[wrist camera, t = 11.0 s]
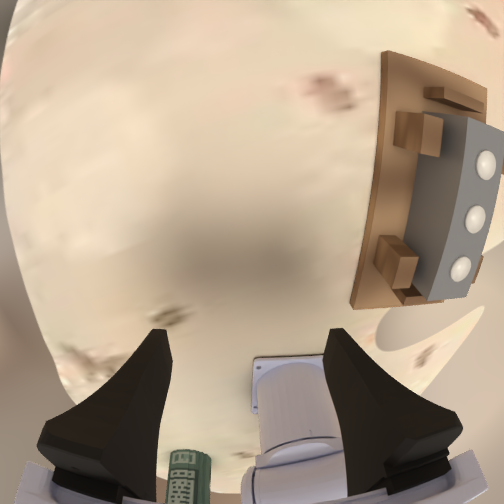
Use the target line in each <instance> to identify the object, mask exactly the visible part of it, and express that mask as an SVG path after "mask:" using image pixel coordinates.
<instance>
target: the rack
mask: <svg viewBox="0 0 504 504" xmlns="http://www.w3.org/2000/svg"><path fill="white" fill-rule="evenodd" d="M486 110H487V88H485V87H483V86H481V85H479V84H477V83H475V82H472V81H470V80H468V79H466V78H464V77H461V76H459V75H457V74H455V73H452V72H450V71H447V70H445V69H442V68H440V67H437V66H435V65H432V64H429V63H426V62H424V61H421V60H418V59H415V58H412V57H409V56H406V55H402V54H399V53H396V52H392V51H389V50H387V51H384V52H382V63H381V97H380V114H379V128H378V139H377V150H376V159H375V168H374V176H373V183H372V191H371V197H370V204H369V210H368V217H367V222H366V228H365V234H364V239H363V244H362V250H361V255H360V259H359V264H358V269H357V274H356V278H355V282H354V287H353V291H352V295H351V299H350V304H351V306H352V308H353V310H358V309H374V308H387V307H400V306H411V305H421V304H432V303H442V302H444V300H445V299H444V300H434V301H427V300H426V299H425V298H424V297H423V296H422V294H421V293H420V292H419V291H418V289H417V288H416V287H415V286H414V285H413V284H412V279H413V276H414V272H415V269H416V265H417V262H418V258H419V257H418V256H417V255H416V254H415V253H414V252H413V251H412V250H411V249H410V248H409V247H408V246H407V245H406V244H405V243H404V242H403V238H404V233H405V229H406V224H407V219H408V214H409V209H410V204H411V199H412V193H413V187H414V181H415V174H416V168H417V160H418V153H420V154H425V155H430V156H435V157H439V156H440V149H441V140H442V130H443V119H441V118H438V117H434V116H431V115H427V114H423V113H422V111H425V112H435V113H444V114H452V115H459V116H466V117H470V118H472V119H475V120H477V121H480V122H482V123H485V124H486ZM501 174H504V159H503V166H502V172H501ZM482 260H483V256H482V255H481V258H480V261H479V263H478V266H477V269H476V272H475V275H474V278H473V280H472V283H475V280H476V277H477V275H478V272H479V269H480V266H481V263H482ZM472 283H471V284H472Z"/></svg>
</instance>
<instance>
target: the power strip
mask: <svg viewBox="0 0 504 504" xmlns="http://www.w3.org/2000/svg"><path fill="white" fill-rule="evenodd" d="M422 113H423V114H427V115H431V116H434V117H438V118H441V119H443V130H442V140H441V149H440V156H439V157H435V156H430V155H425V154H420V153H418V160H417V168H416V174H415V181H414V187H413V193H412V199H411V204H410V209H409V214H408V219H407V224H406V229H405V233H404V238H403V242H404V243H405V244H406V245H407V246H408V247H409V248H410V249H411V250H412V251H413V252H414V253H415V254H416V255H417V256H418V257H419V258H418V262H417V265H416V269H415V272H414V276H413V279H412V284H413V285H414V286H415V287H416V288H417V289H418V291H419V292H420V293H421V294H422V296H423V297H424V298H425V299H426V300H427V301H434V300H444V299H453V298H462V297H466V296H467V293H468V291H469V288H470V285H471V283H472V280H473V278H474V275H475V272H476V269H477V266H478V263H479V261H480V258H481V254H482V251H483V248H484V245H485V242H486V238H487V235H488V231H489V228H490V224H491V220H492V216H493V212H494V208H495V203H496V199H497V194H498V189H499V184H500V178H501V172H502V166H503V159H504V132H503V131H501V130H499V129H496V128H494V127H492V126H490V125H487V124H485V123H482V122H480V121H477V120H475V119H472V118H470V117H466V116H459V115H452V114H444V113H435V112H425V111H422Z"/></svg>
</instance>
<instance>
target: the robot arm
mask: <svg viewBox="0 0 504 504" xmlns="http://www.w3.org/2000/svg"><path fill="white" fill-rule="evenodd" d="M172 363H173V360H172V356H171V351H170V346H169V341H168V336H167V331H166V330H165V329H152V330H151V331H150V333H149V334H148V335H147V337H146V338H145V339H144V341H143V342H142V343H141V344H140V346H139V347H138V348H137V349H136V351H135V352H134V353H133V354H132V356H131V357H130V358H129V359H128V360H127V361H126V363H125V364H124V365H123V366H122V367H121V368H120V369H119V370H118V371H117V372H116V373H115V374H114V375H113V376H112V377H111V378H110V379H109V380H108V381H107V382H106V383H105V384H104V385H103V386H102V387H101V388H99V389H98V390H97V391H96V392H94V393H93V394H92V395H91V396H89V397H88V398H87V399H85V400H84V401H82V402H81V403H79V404H78V405H76V406H75V407H73V408H71V409H70V410H68V411H66V412H64V413H63V414H61V415H59V416H56V417H55V418H53V419H50V420H48V421H46V423H45V425H44V427H43V429H42V432H41V435H40V438H39V440H38V443H37V448H38V450H39V451H40V453H41V454H42V455H43V456H44V457H46V458H47V459H48V460H49V461H50V462H51V463H52V464H53V465H55V466H56V467H55V471H54V472H53V471H52V470H50V469H48V468H46V467H43V466H41V465H39V464H36V463H34V462H32V461H29V460H28V461H27V463H26V466H25V469H24V472H23V475H22V478H21V481H20V484H19V488H18V491H17V495H16V498H15V501H14V503H15V504H163V503H156V464H157V449H158V438H159V428H160V423H161V418H162V414H163V410H164V405H165V401H166V397H167V393H168V389H169V385H170V380H171V372H172ZM258 366H259V367H258ZM251 412H252V413H253V414H258V415H259V429H260V443H261V455H257V456H255V458H256V466H251V467H249V468H248V470H247V471H246V473H245V474H244V476H243V478H242V482H241V500H242V504H466V503H467V502H469V501H471V500H472V499H474V498H476V497H477V496H479V495H480V494H482V493H483V492H485V491H486V490H488V485H487V482H486V480H485V477H484V475H483V473H482V470H481V468H480V466H479V464H478V461H477V459H476V457H475V454H474V452H473V450H469V451H467V452H465V453H462V454H460V455H458V456H456V457H454V458H453V459H451V460H449V461H448V459H447V456H448V455H449V451H448V447H449V445H451V444H452V443H453V442H454V440H456V438H457V437H458V436H459V435H460V434H461V432H462V430H463V426H462V424H461V422H460V420H459V418H458V416H457V414H456V413H455V412H454V411H451V410H449V409H446V408H443V407H441V406H438V405H436V404H434V403H432V402H430V401H428V400H426V399H424V398H423V397H421V396H419V395H417V394H416V393H414V392H412V391H411V390H409V389H408V388H406V387H405V386H403V385H402V384H401V383H399V382H398V381H397V380H395V379H394V378H393V377H391V376H390V375H389V374H388V373H387V372H385V371H384V370H383V369H382V368H381V367H380V366H379V365H378V364H377V363H376V362H374V361H373V360H372V359H371V358H370V357H369V356H368V355H367V354H366V353H365V351H364V350H363V349H362V348H361V347H360V346H359V345H358V344H357V343H356V342H355V341H354V340H353V339H352V337H351V336H350V335H349V334H348V333H347V332H346V331H345V330H344V329H343V328H336V329H330V331H329V335H328V339H327V343H326V347H325V351H324V355H318V356H302V357H280V358H257V359H255V360H254V362H253V382H252V402H251Z"/></svg>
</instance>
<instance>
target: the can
mask: <svg viewBox="0 0 504 504" xmlns="http://www.w3.org/2000/svg"><path fill="white" fill-rule="evenodd" d="M210 480H211V458H210V457H209V456H208V455H207V454H204V453H203V452H199V451H195V450H194V451H190V450H177V451H173V452H172V453H171V456H170V464H169V472H168V481H167V490H166V500H165V504H210Z"/></svg>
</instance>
